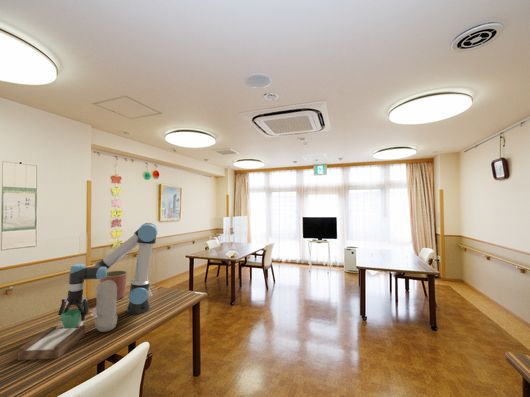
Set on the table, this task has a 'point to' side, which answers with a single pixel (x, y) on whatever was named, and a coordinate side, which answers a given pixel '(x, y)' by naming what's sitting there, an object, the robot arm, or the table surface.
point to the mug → (70, 318)
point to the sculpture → (106, 306)
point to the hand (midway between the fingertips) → (72, 326)
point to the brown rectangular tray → (51, 343)
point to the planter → (117, 281)
